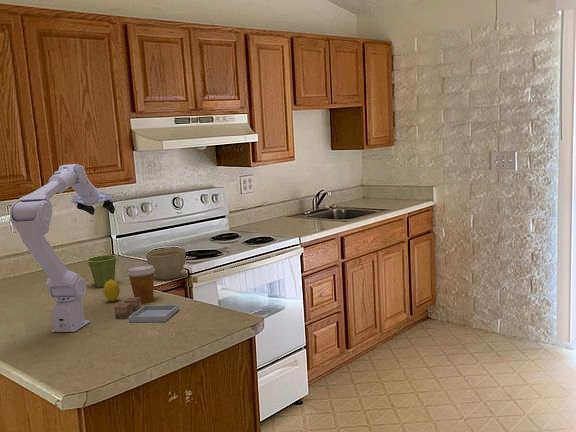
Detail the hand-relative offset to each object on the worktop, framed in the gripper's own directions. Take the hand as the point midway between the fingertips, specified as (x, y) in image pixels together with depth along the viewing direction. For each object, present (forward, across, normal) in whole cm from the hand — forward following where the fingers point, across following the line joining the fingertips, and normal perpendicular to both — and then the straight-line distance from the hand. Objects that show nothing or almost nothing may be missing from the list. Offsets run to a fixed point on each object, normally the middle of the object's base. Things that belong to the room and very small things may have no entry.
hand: (103, 211), depth 202 cm
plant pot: (+38, +15, +10) cm, 42 cm away
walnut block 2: (+12, -13, +32) cm, 37 cm away
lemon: (+21, 0, +25) cm, 32 cm away
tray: (+7, -24, +37) cm, 44 cm away
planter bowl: (+46, -8, +4) cm, 47 cm away
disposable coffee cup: (+21, -12, +25) cm, 35 cm away
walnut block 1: (+7, -13, +37) cm, 40 cm away
